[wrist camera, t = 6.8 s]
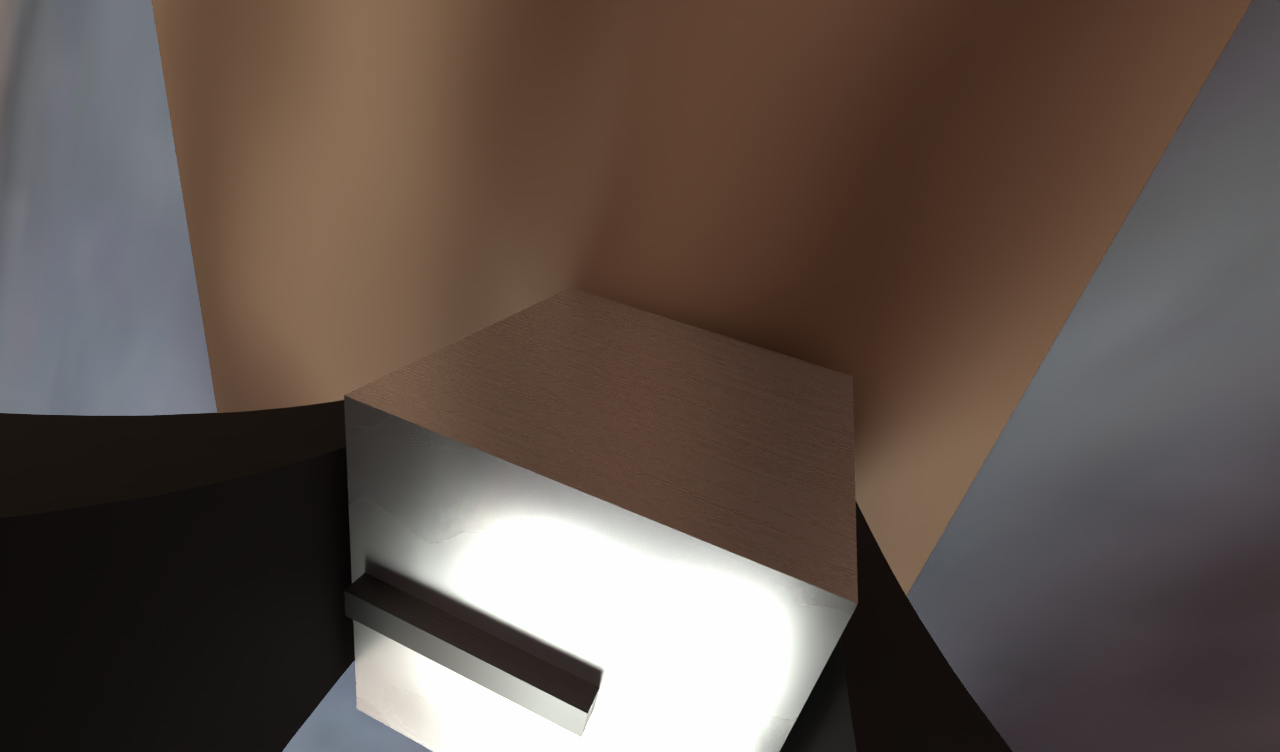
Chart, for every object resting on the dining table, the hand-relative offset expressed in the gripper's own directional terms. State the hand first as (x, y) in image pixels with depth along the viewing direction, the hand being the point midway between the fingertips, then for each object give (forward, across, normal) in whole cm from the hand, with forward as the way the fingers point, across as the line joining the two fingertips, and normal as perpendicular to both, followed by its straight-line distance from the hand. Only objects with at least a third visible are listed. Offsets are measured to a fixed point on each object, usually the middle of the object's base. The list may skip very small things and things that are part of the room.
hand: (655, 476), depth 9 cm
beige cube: (+1, 0, 0) cm, 1 cm away
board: (+3, +4, -3) cm, 6 cm away
